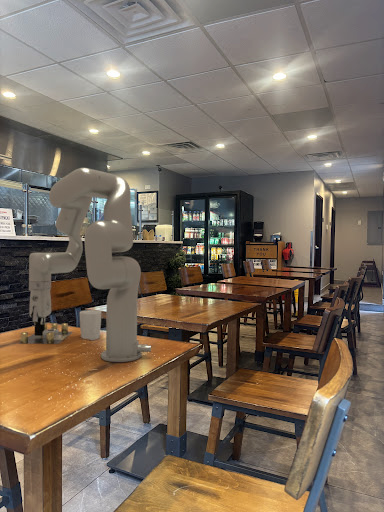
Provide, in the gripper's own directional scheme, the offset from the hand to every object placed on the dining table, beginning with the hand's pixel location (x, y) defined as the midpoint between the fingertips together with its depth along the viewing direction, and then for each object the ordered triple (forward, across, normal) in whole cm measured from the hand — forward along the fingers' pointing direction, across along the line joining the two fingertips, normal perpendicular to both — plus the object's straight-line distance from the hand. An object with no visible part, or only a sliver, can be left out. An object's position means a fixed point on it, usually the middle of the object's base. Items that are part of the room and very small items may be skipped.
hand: (39, 334), depth 137 cm
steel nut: (+1, 0, -4) cm, 4 cm away
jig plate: (+1, 0, -3) cm, 3 cm away
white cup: (+2, +1, -18) cm, 19 cm away
